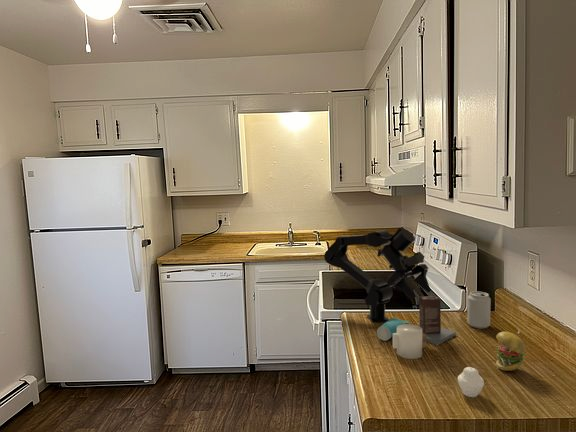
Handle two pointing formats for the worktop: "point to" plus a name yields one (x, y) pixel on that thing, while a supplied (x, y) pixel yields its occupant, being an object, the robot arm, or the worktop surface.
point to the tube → (389, 328)
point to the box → (430, 314)
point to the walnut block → (424, 340)
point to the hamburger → (509, 351)
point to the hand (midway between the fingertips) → (422, 294)
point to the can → (479, 309)
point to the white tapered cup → (408, 341)
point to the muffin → (470, 382)
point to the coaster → (440, 336)
